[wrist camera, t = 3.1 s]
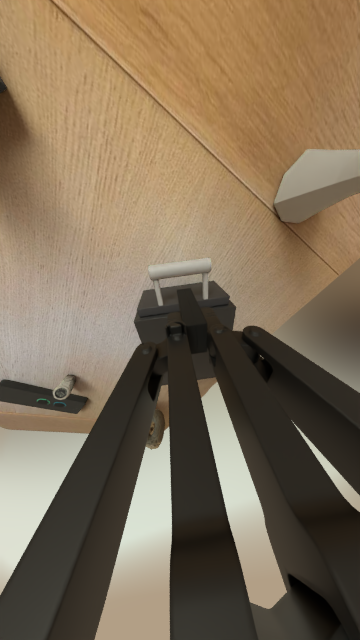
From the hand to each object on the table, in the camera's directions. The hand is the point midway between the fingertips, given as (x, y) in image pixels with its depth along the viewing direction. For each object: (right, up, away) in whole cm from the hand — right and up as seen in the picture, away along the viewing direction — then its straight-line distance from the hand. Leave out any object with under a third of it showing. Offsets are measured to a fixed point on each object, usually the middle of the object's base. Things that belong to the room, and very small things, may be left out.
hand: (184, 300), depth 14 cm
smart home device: (-39, -24, +24) cm, 52 cm away
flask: (+16, +16, +4) cm, 23 cm away
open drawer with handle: (0, 0, +11) cm, 11 cm away
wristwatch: (-30, -18, +21) cm, 41 cm away
